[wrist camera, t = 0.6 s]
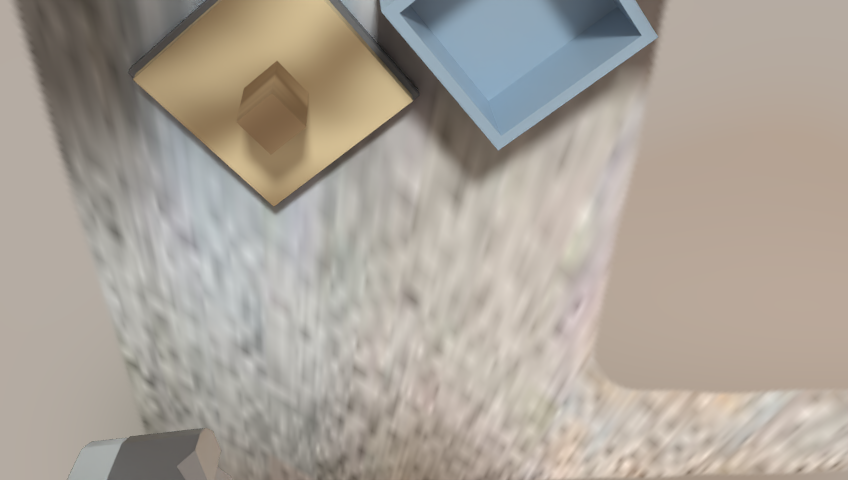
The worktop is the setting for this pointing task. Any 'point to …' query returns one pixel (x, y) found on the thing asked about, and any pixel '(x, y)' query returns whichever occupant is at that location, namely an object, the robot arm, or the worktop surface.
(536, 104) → the dish
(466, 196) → the worktop surface
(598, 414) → the worktop surface
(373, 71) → the lid
